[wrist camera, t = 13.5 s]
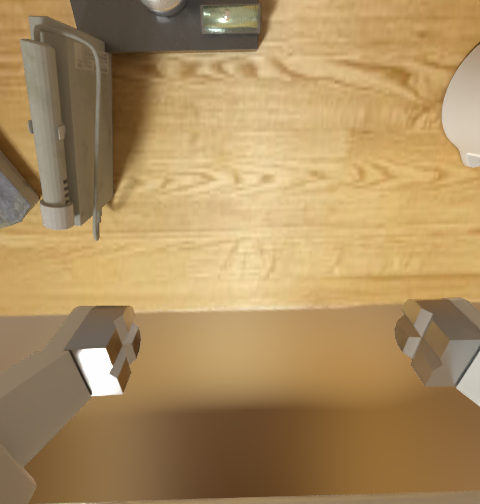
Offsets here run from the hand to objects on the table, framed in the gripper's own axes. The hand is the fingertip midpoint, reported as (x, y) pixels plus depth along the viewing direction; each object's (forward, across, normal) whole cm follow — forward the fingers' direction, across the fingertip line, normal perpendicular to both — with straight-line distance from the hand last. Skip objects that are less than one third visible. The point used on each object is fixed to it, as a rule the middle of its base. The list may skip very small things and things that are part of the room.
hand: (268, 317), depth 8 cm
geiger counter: (+35, +19, 0) cm, 40 cm away
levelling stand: (+34, +8, -16) cm, 39 cm away
